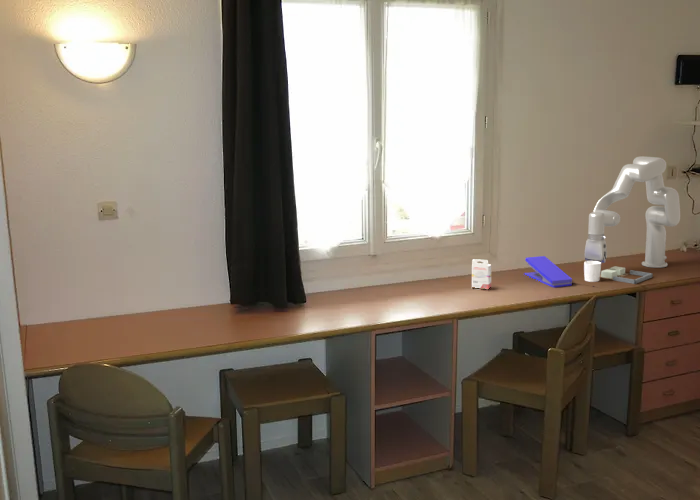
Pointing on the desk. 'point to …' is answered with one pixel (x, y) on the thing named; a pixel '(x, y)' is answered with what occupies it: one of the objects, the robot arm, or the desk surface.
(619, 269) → the sage tile
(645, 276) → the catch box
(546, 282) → the stapler
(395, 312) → the desk surface
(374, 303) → the desk surface
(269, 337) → the desk surface
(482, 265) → the ink cartridge box
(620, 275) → the walnut board
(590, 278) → the white cup
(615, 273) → the sage tile
